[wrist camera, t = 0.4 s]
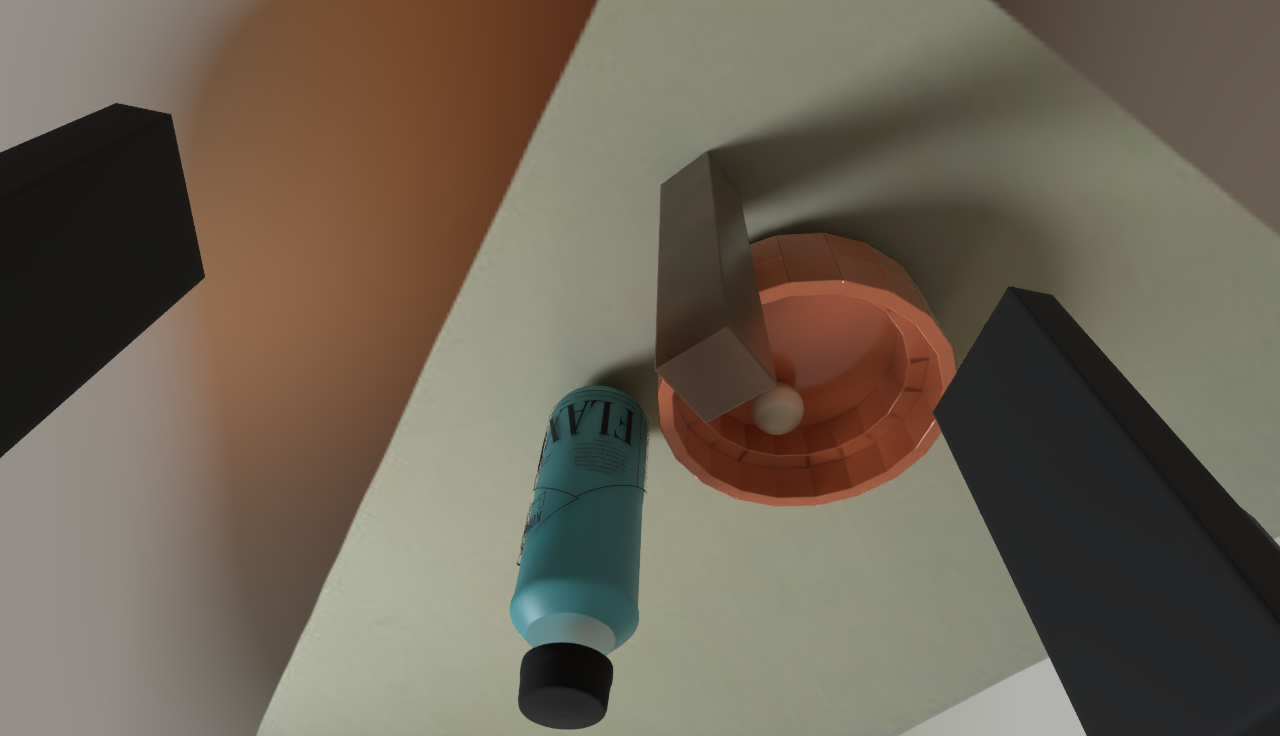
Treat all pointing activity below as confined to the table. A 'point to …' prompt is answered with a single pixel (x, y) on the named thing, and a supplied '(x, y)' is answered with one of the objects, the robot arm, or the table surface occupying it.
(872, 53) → the table surface
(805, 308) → the bowl
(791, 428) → the bead
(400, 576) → the table surface
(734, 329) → the stick
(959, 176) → the table surface
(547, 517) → the beverage bottle
